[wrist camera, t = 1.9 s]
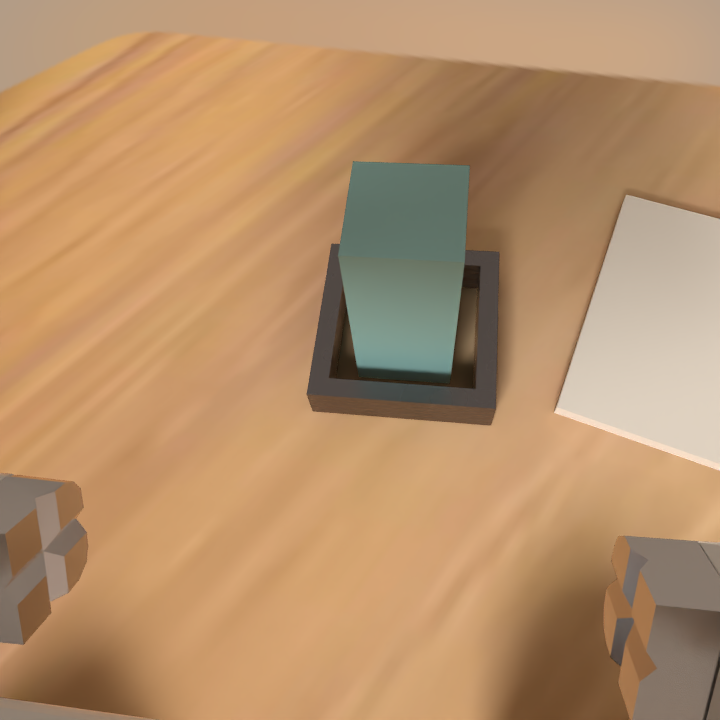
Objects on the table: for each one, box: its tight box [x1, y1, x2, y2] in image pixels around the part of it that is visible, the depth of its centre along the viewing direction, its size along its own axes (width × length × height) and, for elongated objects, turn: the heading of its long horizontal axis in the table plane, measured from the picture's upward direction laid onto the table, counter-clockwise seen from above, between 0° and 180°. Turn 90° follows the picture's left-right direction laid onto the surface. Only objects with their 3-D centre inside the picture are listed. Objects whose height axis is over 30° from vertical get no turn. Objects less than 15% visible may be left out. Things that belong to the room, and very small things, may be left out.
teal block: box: [338, 161, 470, 384], centre depth 25 cm, size 4×4×9 cm
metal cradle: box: [307, 244, 499, 425], centre depth 28 cm, size 8×8×2 cm
